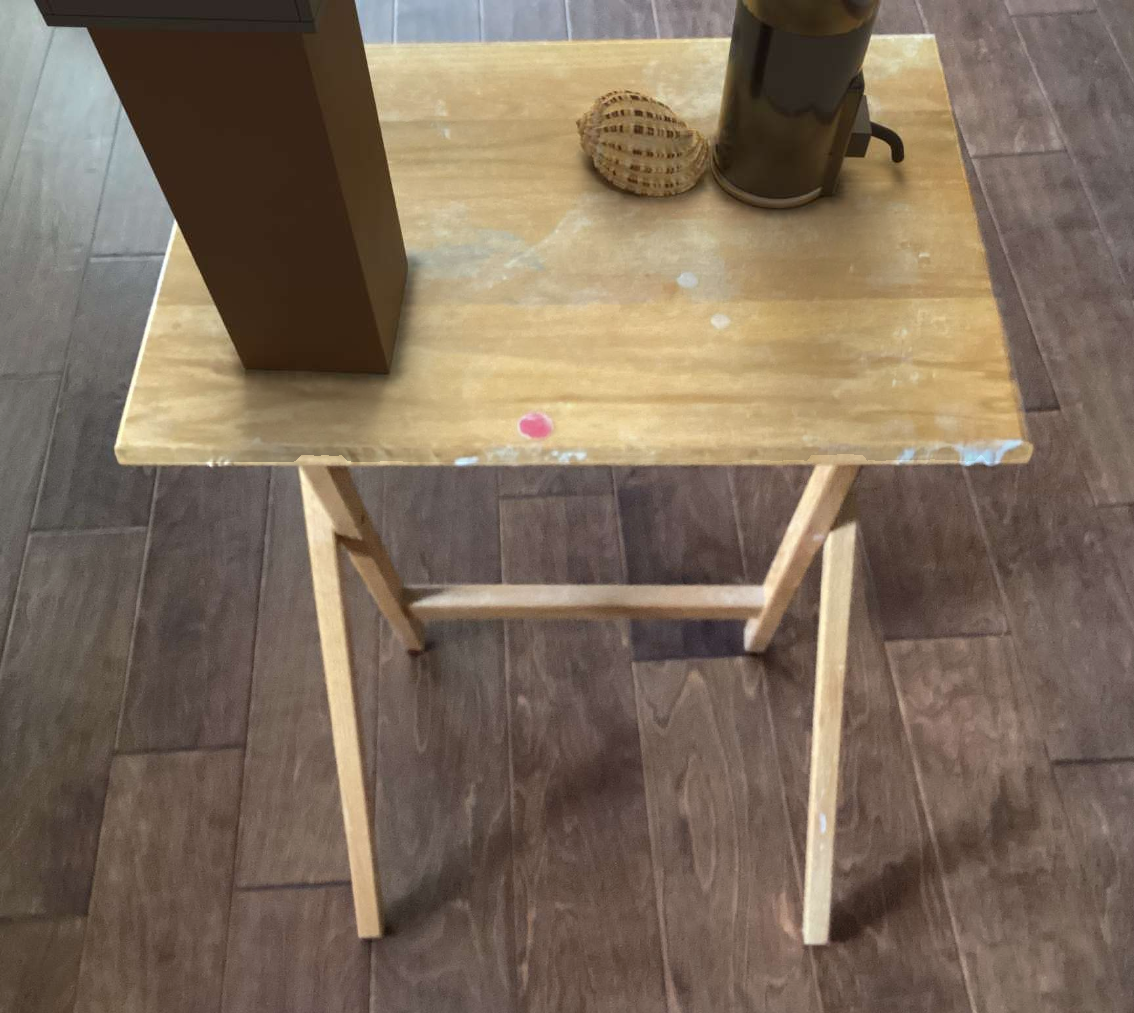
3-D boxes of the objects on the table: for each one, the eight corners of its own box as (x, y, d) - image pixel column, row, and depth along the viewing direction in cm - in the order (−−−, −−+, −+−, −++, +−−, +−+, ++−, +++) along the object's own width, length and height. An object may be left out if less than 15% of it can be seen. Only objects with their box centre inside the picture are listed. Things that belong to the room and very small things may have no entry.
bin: (425, 254, 72) (336, -245, 45) (403, 387, 66) (285, -96, 39) (261, 248, 73) (73, -250, 45) (224, 381, 66) (-19, -103, 39)
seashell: (668, 154, 82) (560, 123, 77) (706, 95, 77) (593, 58, 73) (689, 220, 78) (576, 192, 73) (730, 162, 73) (613, 127, 69)
